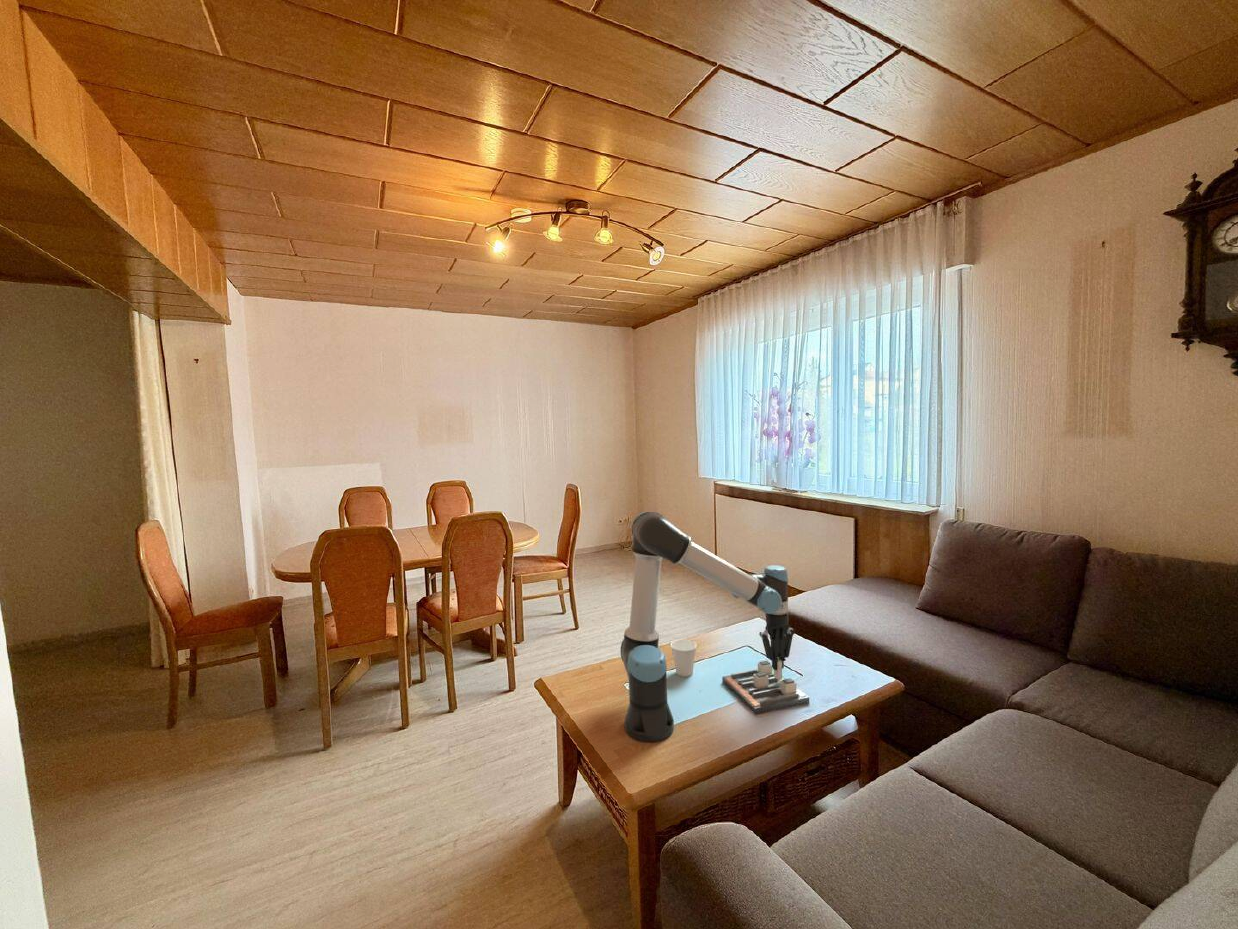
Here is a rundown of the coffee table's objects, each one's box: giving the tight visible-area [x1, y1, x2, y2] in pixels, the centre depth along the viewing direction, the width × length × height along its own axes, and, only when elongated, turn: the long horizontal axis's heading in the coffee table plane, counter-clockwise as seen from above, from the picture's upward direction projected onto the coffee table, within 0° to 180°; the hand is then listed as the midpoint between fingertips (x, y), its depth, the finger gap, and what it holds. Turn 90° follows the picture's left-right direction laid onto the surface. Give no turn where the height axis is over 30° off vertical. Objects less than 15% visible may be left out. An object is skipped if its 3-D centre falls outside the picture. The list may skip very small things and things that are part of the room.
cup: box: [670, 639, 698, 678], centre depth 183 cm, size 10×10×11 cm
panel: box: [721, 668, 810, 716], centre depth 167 cm, size 20×22×3 cm
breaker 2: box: [753, 672, 769, 688], centre depth 167 cm, size 4×3×4 cm
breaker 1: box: [757, 660, 773, 674], centre depth 175 cm, size 4×3×4 cm
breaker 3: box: [781, 677, 798, 695], centre depth 162 cm, size 4×3×4 cm
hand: (778, 678), depth 169 cm, fingers closed
